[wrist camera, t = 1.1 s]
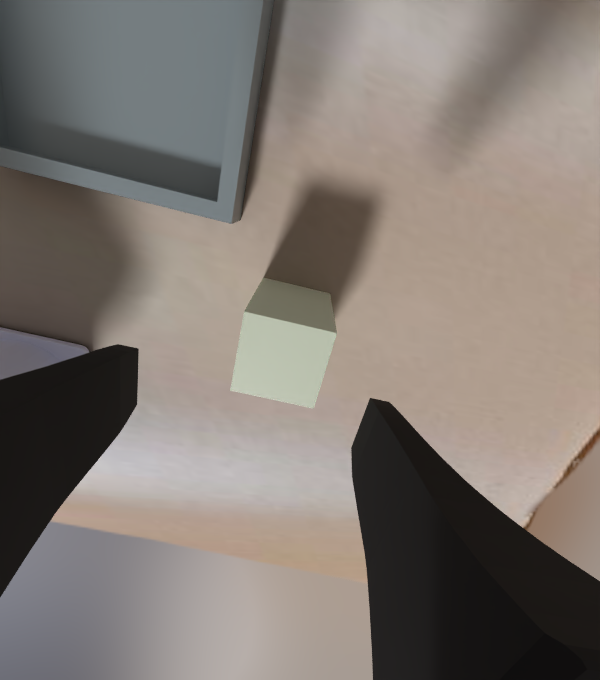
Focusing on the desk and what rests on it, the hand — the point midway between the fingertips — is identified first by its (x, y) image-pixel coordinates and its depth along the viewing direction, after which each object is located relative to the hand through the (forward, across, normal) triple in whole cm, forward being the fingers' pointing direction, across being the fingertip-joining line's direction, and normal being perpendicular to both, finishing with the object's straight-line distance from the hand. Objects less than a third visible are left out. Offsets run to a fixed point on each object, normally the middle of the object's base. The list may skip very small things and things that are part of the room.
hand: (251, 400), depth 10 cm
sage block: (+10, -1, +1) cm, 11 cm away
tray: (+10, +9, -10) cm, 17 cm away
